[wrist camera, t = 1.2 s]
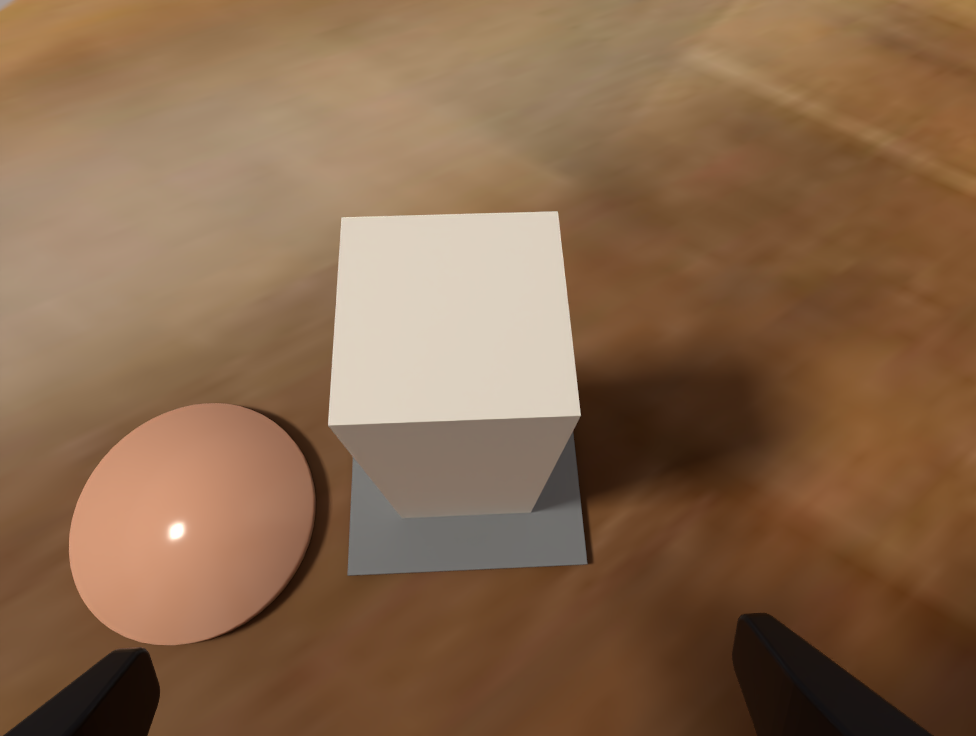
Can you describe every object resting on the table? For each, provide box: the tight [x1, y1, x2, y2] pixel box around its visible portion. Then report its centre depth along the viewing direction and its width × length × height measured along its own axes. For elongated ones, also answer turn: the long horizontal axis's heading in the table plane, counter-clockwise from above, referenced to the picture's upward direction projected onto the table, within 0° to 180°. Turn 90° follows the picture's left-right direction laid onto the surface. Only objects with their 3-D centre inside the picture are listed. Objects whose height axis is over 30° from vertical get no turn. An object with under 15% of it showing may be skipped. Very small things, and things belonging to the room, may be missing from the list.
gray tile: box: [348, 432, 587, 576], centre depth 24 cm, size 9×9×1 cm
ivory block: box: [328, 211, 581, 518], centre depth 18 cm, size 5×5×12 cm
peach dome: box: [69, 403, 316, 645], centre depth 22 cm, size 9×9×1 cm
